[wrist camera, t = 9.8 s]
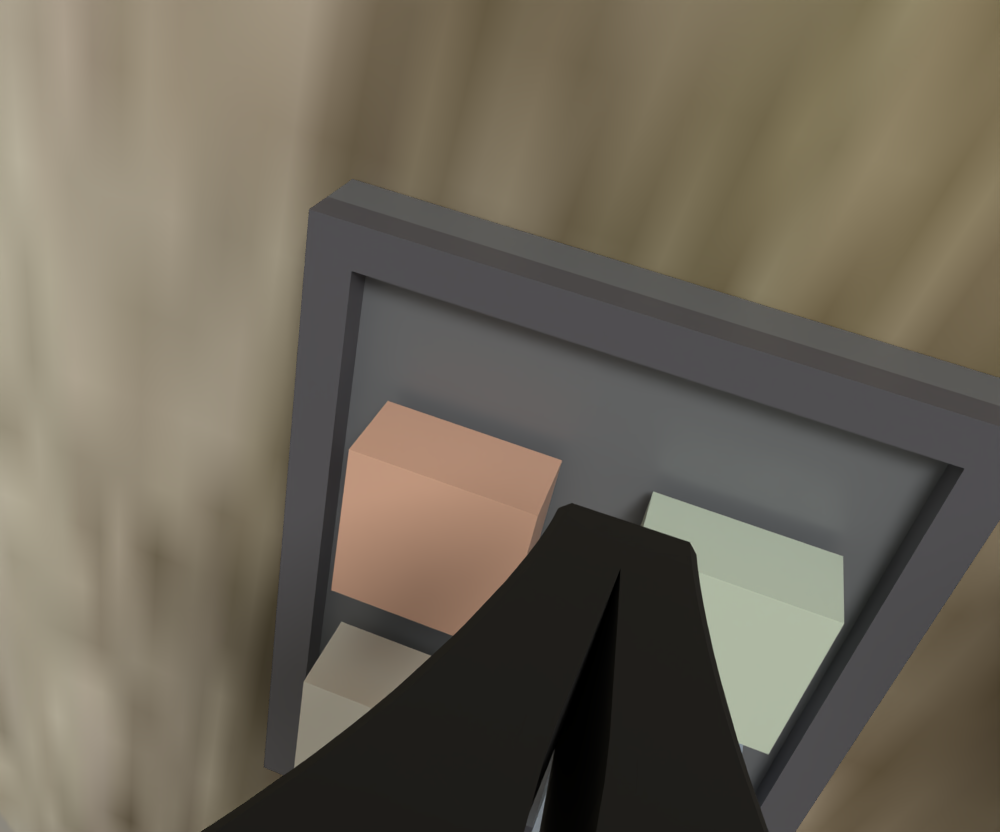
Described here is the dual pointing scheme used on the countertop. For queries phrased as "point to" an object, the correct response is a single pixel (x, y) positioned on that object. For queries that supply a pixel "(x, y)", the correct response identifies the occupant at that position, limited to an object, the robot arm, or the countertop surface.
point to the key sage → (759, 611)
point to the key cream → (349, 684)
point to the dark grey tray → (634, 438)
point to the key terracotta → (436, 516)
